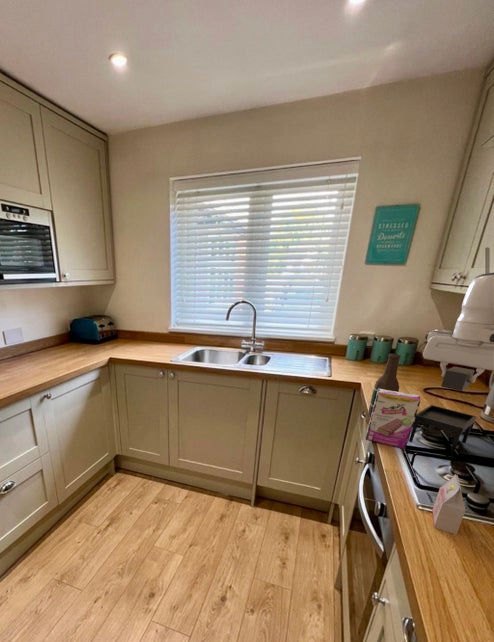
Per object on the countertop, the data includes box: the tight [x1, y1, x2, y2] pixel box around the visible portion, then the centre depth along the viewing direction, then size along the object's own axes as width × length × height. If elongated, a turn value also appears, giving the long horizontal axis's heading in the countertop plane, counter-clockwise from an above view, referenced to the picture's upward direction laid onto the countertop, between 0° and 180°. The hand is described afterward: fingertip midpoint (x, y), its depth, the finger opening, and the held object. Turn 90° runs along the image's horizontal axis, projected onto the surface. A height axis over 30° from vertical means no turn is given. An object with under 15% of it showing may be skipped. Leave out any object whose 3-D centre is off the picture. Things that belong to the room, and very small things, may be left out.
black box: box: [440, 366, 476, 392], centre depth 98 cm, size 5×8×5 cm, turn 129°
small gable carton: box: [432, 473, 467, 535], centre depth 68 cm, size 4×7×10 cm, turn 147°
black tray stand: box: [408, 404, 477, 456], centre depth 104 cm, size 12×15×9 cm
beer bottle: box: [367, 352, 402, 419], centre depth 119 cm, size 8×8×24 cm
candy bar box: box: [365, 389, 422, 450], centre depth 101 cm, size 11×5×16 cm, turn 59°
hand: (457, 379), depth 98 cm, fingers closed on black box, 5 cm apart
